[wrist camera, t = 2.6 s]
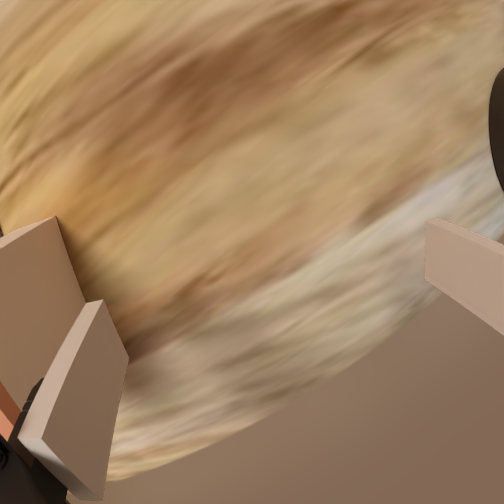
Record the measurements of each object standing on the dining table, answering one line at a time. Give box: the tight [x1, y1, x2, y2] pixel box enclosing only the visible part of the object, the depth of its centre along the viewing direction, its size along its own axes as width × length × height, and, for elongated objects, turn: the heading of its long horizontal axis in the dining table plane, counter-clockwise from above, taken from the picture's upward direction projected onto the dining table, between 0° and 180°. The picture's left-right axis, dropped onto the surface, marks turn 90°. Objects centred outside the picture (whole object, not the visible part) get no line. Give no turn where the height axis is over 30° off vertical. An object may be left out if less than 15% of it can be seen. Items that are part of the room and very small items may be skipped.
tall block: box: [0, 216, 86, 441], centre depth 13 cm, size 4×8×12 cm, turn 10°
